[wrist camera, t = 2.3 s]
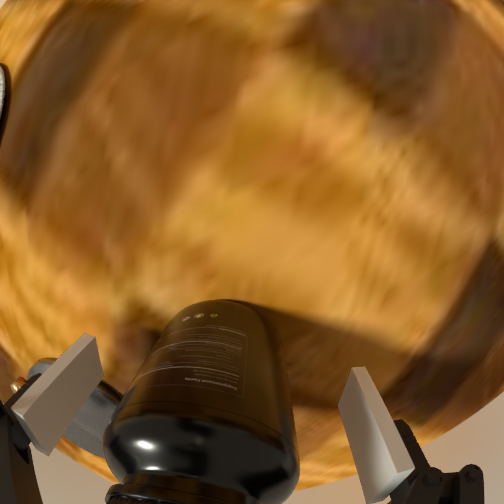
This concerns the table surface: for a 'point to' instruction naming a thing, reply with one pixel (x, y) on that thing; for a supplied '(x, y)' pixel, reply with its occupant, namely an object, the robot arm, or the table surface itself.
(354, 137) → the table surface
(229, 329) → the supplement bottle
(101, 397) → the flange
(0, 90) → the grey ring with stone
